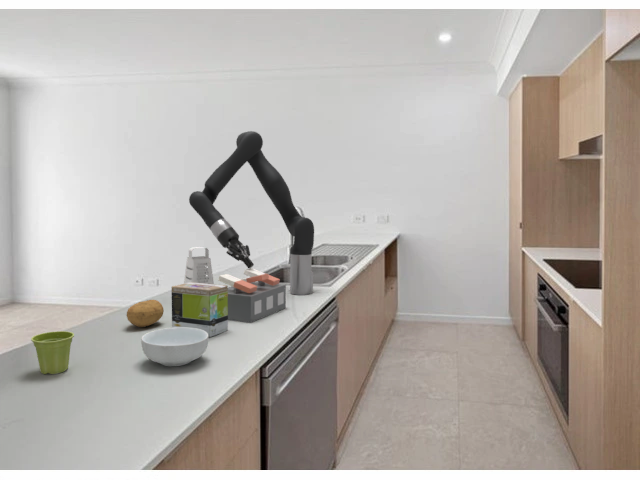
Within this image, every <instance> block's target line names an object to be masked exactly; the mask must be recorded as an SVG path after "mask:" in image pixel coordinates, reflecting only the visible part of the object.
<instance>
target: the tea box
mask: <svg viewBox="0 0 640 480" xmlns="http://www.w3.org/2000/svg"><path fill="white" fill-rule="evenodd" d="M228 287H229V285H228V284H215V283H214V284H205V283H194V282H190V283H185V284H184V283H181V284H177V285H172V286H171V328H173V327H189V328H197V329H201V330H204V331H206V332H207V333H208V338H210V337H214V336H217V335H219V334H222V333H225V332H226V331H228V329H229V320H228Z"/></svg>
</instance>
